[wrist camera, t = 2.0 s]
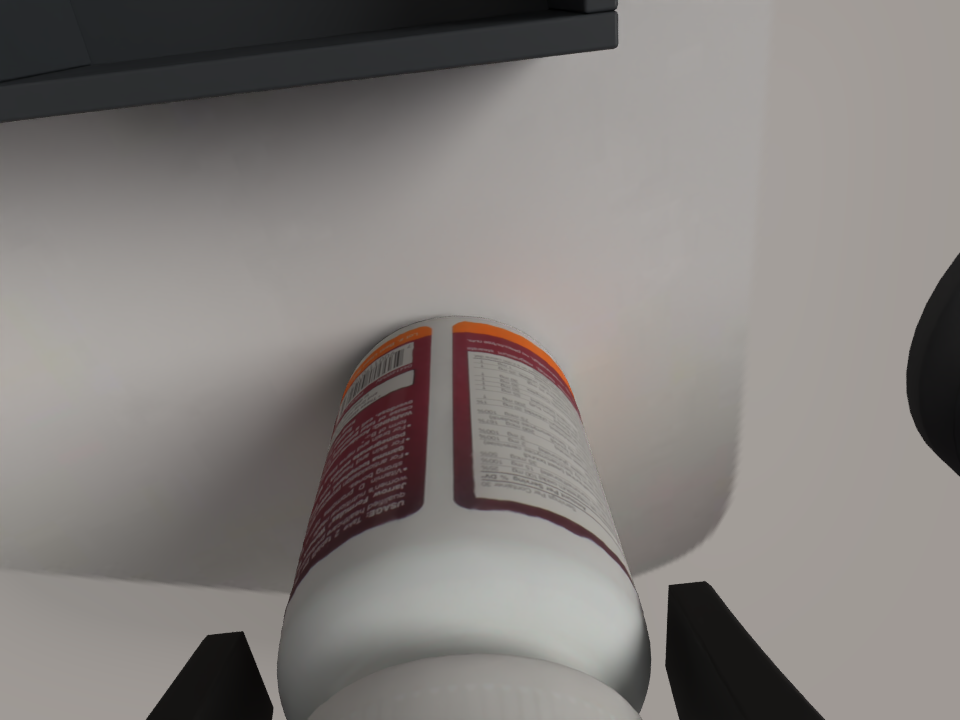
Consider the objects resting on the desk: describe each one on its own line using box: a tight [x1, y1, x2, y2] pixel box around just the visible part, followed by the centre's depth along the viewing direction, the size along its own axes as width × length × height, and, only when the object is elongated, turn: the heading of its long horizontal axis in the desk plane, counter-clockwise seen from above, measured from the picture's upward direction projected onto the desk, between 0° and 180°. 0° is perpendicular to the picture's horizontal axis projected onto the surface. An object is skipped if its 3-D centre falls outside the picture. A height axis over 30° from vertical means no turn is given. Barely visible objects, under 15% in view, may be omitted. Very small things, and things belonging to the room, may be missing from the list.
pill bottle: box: [277, 316, 651, 720], centre depth 13 cm, size 6×6×11 cm
